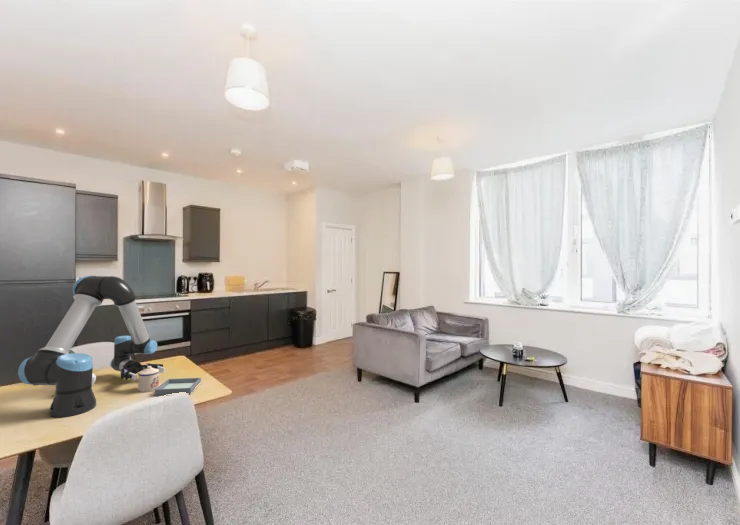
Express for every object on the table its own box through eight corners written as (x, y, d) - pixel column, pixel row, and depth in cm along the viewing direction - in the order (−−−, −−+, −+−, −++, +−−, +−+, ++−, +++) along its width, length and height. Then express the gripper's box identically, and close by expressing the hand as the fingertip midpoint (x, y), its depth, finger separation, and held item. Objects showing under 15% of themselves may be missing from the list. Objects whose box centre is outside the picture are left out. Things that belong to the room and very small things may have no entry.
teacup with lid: (153, 392, 162) (154, 368, 163) (133, 393, 161) (134, 369, 161) (165, 383, 174) (165, 361, 174) (146, 384, 173) (147, 362, 173)
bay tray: (190, 394, 161) (190, 388, 161) (154, 396, 158) (154, 389, 158) (201, 383, 176) (201, 377, 176) (168, 384, 173) (168, 378, 173)
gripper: (154, 368, 190) (174, 374, 180) (102, 380, 169) (122, 388, 158) (154, 355, 190) (175, 361, 180) (103, 365, 169) (123, 373, 158)
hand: (150, 373), depth 169 cm, fingers open, 13 cm apart
